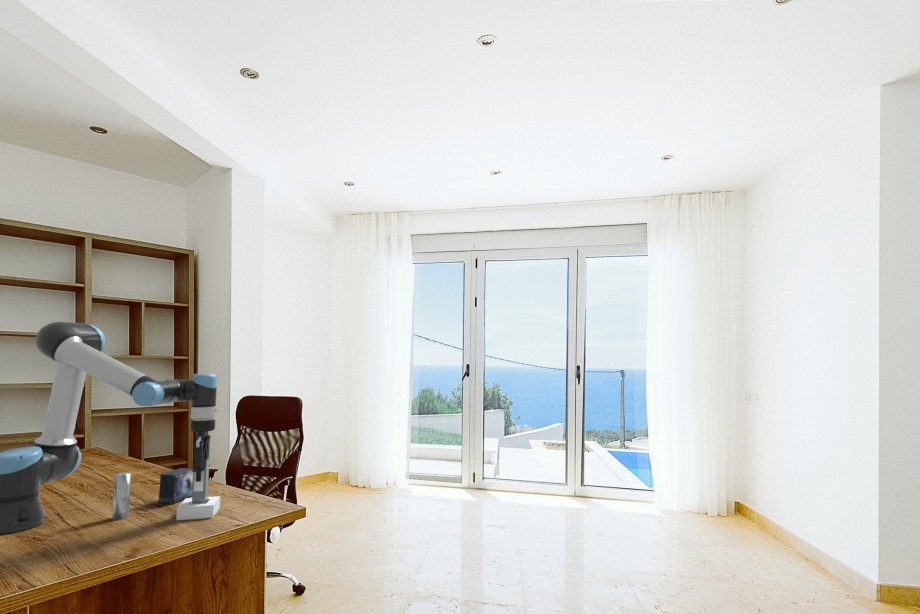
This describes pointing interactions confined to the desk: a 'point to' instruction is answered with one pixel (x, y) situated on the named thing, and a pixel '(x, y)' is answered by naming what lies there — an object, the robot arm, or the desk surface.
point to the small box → (175, 486)
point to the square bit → (203, 495)
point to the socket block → (198, 509)
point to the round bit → (121, 496)
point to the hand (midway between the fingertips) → (200, 489)
